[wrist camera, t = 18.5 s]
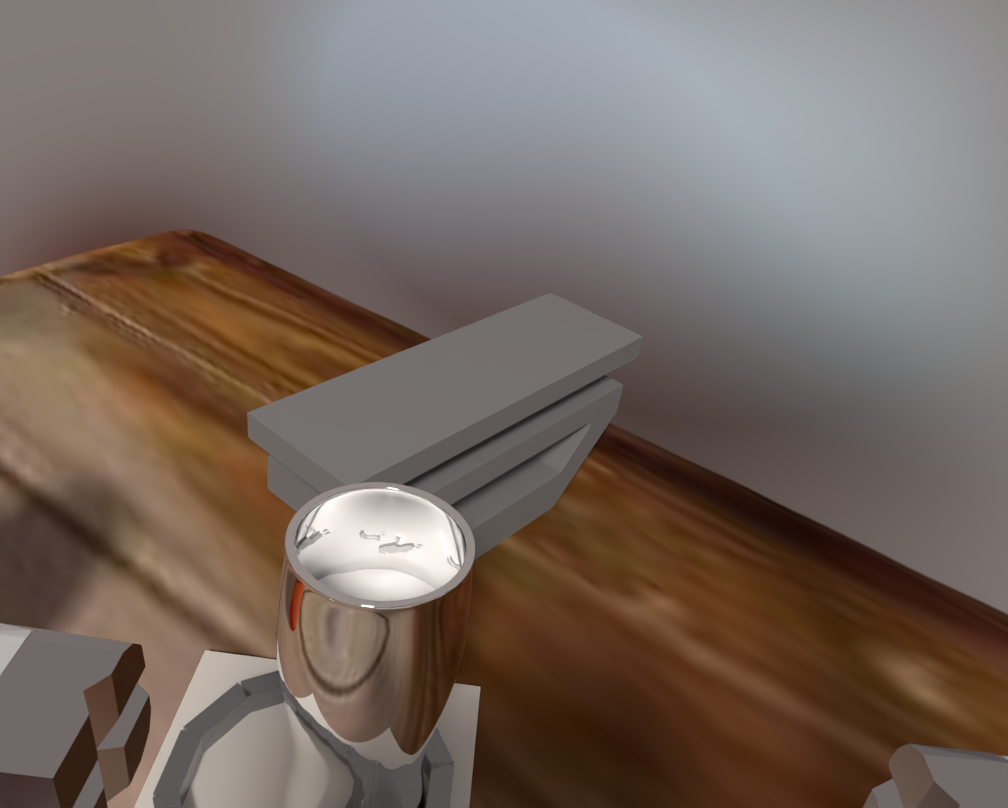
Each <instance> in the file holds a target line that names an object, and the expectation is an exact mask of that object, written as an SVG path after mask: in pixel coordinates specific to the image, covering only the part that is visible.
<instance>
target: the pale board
mask: <svg viewBox="0 0 1008 808" xmlns="http://www.w3.org/2000/svg"><path fill="white" fill-rule="evenodd" d="M274 671H278V664H277V660H275V659H267V658H260V657H252V656H245V655H237V654H229V653H222V652H214V651H207V650H205V652H204V654H203V656H202V658H201V661H200V663H199V665H198V667H197V669H196V672H195V674H194V676H193V678H192V681H191V683H190V685H189V687H188V689H187V692H186V694H185V696H184V698H183V701H182V703H181V705H180V707H179V709H178V712H177V714H176V716H175V718H174V720H173V723H172V725H171V727H170V729H169V732H168V734H167V736H166V738H165V740H164V743H163V745H162V747H161V749H160V751H159V754H158V756H157V758H156V760H155V763H154V765H153V767H152V769H151V771H150V774H149V776H148V778H147V780H146V783H145V785H144V787H143V789H142V791H141V794H140V796H139V798H138V800H137V802H136V805H135V807H134V808H154V805H153V798H152V797H153V793H154V790H155V788H156V786H157V783H158V781H159V779H160V777H161V774H162V772H163V770H164V767H165V765H166V763H167V761H168V758H169V756H170V754H171V751H172V749H173V747H174V745H175V742H176V740H177V738H178V735H179V733H180V731H181V730H184V729H183V727H184V726H185V725H186V724H187V723H189V722H190V721H191V720H192V719H193V718H195V717H196V716H197V715H198V714H200V713H201V712H202V711H203V710H204V709H206V708H207V707H208V706H209V705H211V704H212V703H213V702H214V701H215V700H217V699H218V698H219V697H220V696H222V695H223V694H224V693H225V692H226V691H228V690H229V689H230V688H231V687H233V686H234V685H235V684H236V683H238V684H240V685H241V681H242V680H246V679H249V678H253V677H256V676H260V675H263V674H267V673H271V672H274ZM479 698H480V686H472V685H465V684H457V683H455V684H454V686H453V689H452V692H451V695H450V697H449V700H448V702H447V704H446V707H445V709H444V711H443V713H442V716H441V718H440V720H439V722H438V725H437V728H438V730H439V732H440V735H441V737H442V739H443V741H444V743H445V745H446V747H447V749H448V751H449V753H450V755H451V757H452V759H453V761H454V764H453V765H454V773H453V782H452V791H451V800H450V808H469V805H470V794H471V784H472V773H473V762H474V752H475V741H476V730H477V719H478V709H479ZM294 756H295V748H294V742H293V736H292V732H291V728H290V724H289V720H288V716H287V712H286V707H285V703H281V704H278V705H275V706H271V707H268V708H265V709H261V710H258V711H255V712H251V713H249V714H248V715H247V716H246V717H245V718H244V719H242V720H241V721H240V722H239V723H238V724H237V725H236V726H234V727H233V728H232V729H231V730H230V731H229V732H227V733H226V734H225V735H224V736H223V737H222V738H220V739H219V740H218V741H217V742H216V743H215V744H214V745H212V746H211V747H210V748H209V749H208V750H207V751H205V752H204V753H203V756H202V758H201V761H200V763H199V766H198V768H197V771H196V773H195V776H194V778H193V781H192V783H191V786H190V788H189V791H188V793H187V796H186V798H185V801H184V803H183V806H182V808H283V797H284V791H285V787H286V783H287V780H288V777H289V774H290V771H291V768H292V765H293V762H294ZM423 776H424V784H425V808H426V803H427V796H428V789H429V780H428V778H427V776H426V774H425V771H424V769H423Z"/></svg>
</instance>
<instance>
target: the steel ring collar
mask: <svg viewBox="0 0 1008 808" xmlns="http://www.w3.org/2000/svg"><path fill="white" fill-rule="evenodd" d="M281 703H284V699H283V694H282V690H281V684H280V677H279V671H274V672H271V673H267V674H263V675H260V676H256V677H253V678H249V679H246V680H242V681H241V685H240V684H238V683H236V684H235V685H234V686H233V687H231V688H230V689H229V690H228V691H226V692H225V693H224V694H223V695H222V696H220V697H219V698H218V699H217V700H215V701H214V702H213V703H212V704H211V705H209V706H208V707H207V708H206V709H204V710H203V711H202V712H201V713H200V714H198V715H197V716H196V717H195V718H193V719H192V720H191V721H190V722H189V723H187V724H186V725H185V726H184V727H183V729H184V730H181V731H180V733H179V735H178V738H177V740H176V742H175V745H174V747H173V749H172V751H171V754H170V756H169V758H168V761H167V763H166V765H165V767H164V770H163V772H162V774H161V777H160V779H159V781H158V783H157V786H156V788H155V790H154V793H153V797H152V798H153V805H154V808H182V806H183V803H184V801H185V798H186V796H187V793H188V791H189V788H190V786H191V783H192V781H193V778H194V776H195V773H196V771H197V768H198V766H199V763H200V761H201V758H202V756H203V753H204V752H205V751H207V750H208V749H209V748H210V747H211V746H212V745H214V744H215V743H216V742H217V741H218V740H219V739H220V738H222V737H223V736H224V735H225V734H226V733H227V732H229V731H230V730H231V729H232V728H233V727H234V726H236V725H237V724H238V723H239V722H240V721H241V720H242V719H244V718H245V717H246V716H247V715H248V714H249V713H251V712H255V711H258V710H261V709H265V708H268V707H271V706H275V705H278V704H281ZM453 764H454V761H453V759H452V757H451V755H450V753H449V751H448V749H447V747H446V745H445V743H444V741H443V739H442V737H441V735H440V732H439V730H438V728H437V727H436V729H435V731H434V733H433V735H432V737H431V740H430V742H429V744H428V747H427V749H426V752H425V755H424V759H423V769H424V771H425V774H426V776H427V778H428V780H429V789H428V796H427V803H426V808H450V800H451V791H452V782H453V773H454V765H453Z"/></svg>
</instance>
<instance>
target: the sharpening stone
mask: <svg viewBox="0 0 1008 808" xmlns="http://www.w3.org/2000/svg"><path fill="white" fill-rule="evenodd" d="M642 339H643V336H641V335H639V334H637V333H635V332H632V331H630V330H628V329H626V328H624V327H622V326H620V325H618V324H616V323H613V322H612V321H609V320H607V319H605V318H603V317H601V316H599V315H597V314H595V313H593V312H591V311H588V310H586V309H584V308H582V307H580V306H578V305H576V304H574V303H572V302H570V301H568V300H565V299H563V298H561V297H559V296H557V295H555V294H553V293H548V294H546V295H543V296H541V297H538V298H536V299H533V300H531V301H528V302H526V303H523V304H521V305H518V306H516V307H513V308H511V309H508V310H506V311H503V312H500V313H498V314H495V315H493V316H490V317H488V318H485V319H483V320H480V321H478V322H475V323H473V324H470V325H467V326H465V327H462V328H460V329H457V330H455V331H453V332H450V333H448V334H445V335H442V336H440V337H437V338H435V339H432V340H430V341H427V342H425V343H422V344H419V345H417V346H414V347H412V348H409V349H407V350H404V351H402V352H399V353H397V354H394V355H392V356H389V357H387V358H384V359H382V360H379V361H377V362H374V363H372V364H369V365H366V366H364V367H361V368H359V369H356V370H354V371H351V372H349V373H346V374H344V375H341V376H339V377H336V378H334V379H331V380H329V381H326V382H324V383H321V384H318V385H316V386H313V387H311V388H308V389H306V390H303V391H301V392H298V393H296V394H293V395H291V396H288V397H286V398H283V399H281V400H278V401H276V402H273V403H270V404H268V405H265V406H263V407H260V408H258V409H255V410H253V411H250V412H248V413H247V415H248V438H250V439H251V440H252V441H254V442H255V443H256V444H257V445H259V446H260V447H261V448H263V449H264V450H265V451H267V452H268V453H269V454H271V456H268V457H267V479H268V489H269V490H270V491H271V492H272V493H274V494H275V495H276V496H278V497H279V498H280V499H281V500H283V501H284V502H285V503H286V504H288V505H289V506H290V507H291V508H293V509H294V510H295V511H296V512H297V511H298V510H299V509H300V508H301V507H302V506H303V505H304V504H306V503H307V502H308V501H310V500H311V499H313V498H314V497H316V496H318V495H320V494H322V493H324V492H326V491H328V490H331V489H334V488H337V487H341V486H345V485H349V484H355V483H365V482H386V483H395V484H401V485H406V486H410V487H414V488H417V489H420V490H423V491H426V492H428V493H430V494H433V495H435V496H437V497H438V498H440V499H442V500H444V501H445V502H447V503H448V504H449V505H451V506H452V507H453V508H454V509H456V510H457V511H458V512H459V513H460V514H461V515H462V517H463V518H464V519H465V520H466V522H467V523H468V525H469V527H470V528H471V531H472V533H473V536H474V539H475V546H476V553H475V559H477V558H478V557H480V556H481V555H483V554H484V553H486V552H487V551H489V550H490V549H492V548H493V547H495V546H496V545H498V544H499V543H501V542H502V541H503V540H505V539H506V538H508V537H509V536H511V535H512V534H514V533H515V532H517V531H518V530H520V529H521V528H523V527H524V526H526V525H527V524H529V523H530V522H532V521H533V520H534V519H536V518H537V517H539V516H540V515H542V514H543V513H545V512H546V511H548V510H549V509H551V508H552V507H554V505H555V504H556V502H557V501H558V499H559V498H560V496H561V495H562V493H563V492H564V490H565V489H566V487H567V486H568V484H569V483H570V481H571V480H572V478H573V477H574V475H575V474H576V472H577V471H578V469H579V468H580V466H581V465H582V463H583V462H584V460H585V459H586V457H587V456H588V454H589V453H590V451H591V450H592V448H593V447H594V445H595V444H596V442H597V440H598V439H599V437H600V436H601V434H602V433H603V431H604V430H605V428H606V427H607V425H608V424H609V422H610V421H611V419H612V418H613V416H614V415H615V413H616V412H617V409H618V405H619V400H620V396H621V392H622V388H623V384H621V383H619V382H617V381H615V380H613V379H612V378H610V377H608V376H606V375H605V374H607V373H609V372H611V371H613V370H615V369H616V368H618V367H620V366H622V365H624V364H625V363H627V362H629V361H631V360H633V359H635V358H637V357H638V355H639V351H640V347H641V343H642ZM475 559H474V560H475Z"/></svg>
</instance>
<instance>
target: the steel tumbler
mask: <svg viewBox="0 0 1008 808" xmlns="http://www.w3.org/2000/svg"><path fill="white" fill-rule="evenodd" d="M475 553H476V546H475V539H474V536H473V533H472V531H471V528H470V527H469V525H468V523H467V522H466V520H465V519H464V518H463V517H462V515H461V514H460V513H459V512H458V511H457V510H456V509H454V508H453V507H452V506H451V505H449V504H448V503H447V502H445V501H444V500H442V499H440V498H438V497H437V496H435V495H433V494H430V493H428V492H426V491H423V490H420V489H417V488H414V487H410V486H406V485H401V484H395V483H386V482H365V483H355V484H349V485H345V486H341V487H337V488H334V489H331V490H328V491H326V492H324V493H322V494H320V495H318V496H316V497H314V498H313V499H311V500H310V501H308V502H307V503H306V504H304V505H303V506H302V507H301V508H300V509H299V510H298V511H297V512H296V514H295V515H294V516H293V518H292V519H291V521H290V523H289V525H288V527H287V530H286V534H285V551H284V559H283V565H282V572H281V579H280V587H279V595H278V606H277V621H276V648H277V664H278V671H279V677H280V684H281V690H282V694H283V699H284V703H285V707H286V712H287V716H288V720H289V724H290V728H291V732H292V736H293V742H294V748H295V756H294V762H293V765H292V768H291V771H290V774H289V777H288V780H287V783H286V787H285V791H284V797H283V808H425V784H424V776H423V759H424V755H425V752H426V749H427V747H428V744H429V742H430V740H431V737H432V735H433V733H434V731H435V729H436V727H437V725H438V722H439V720H440V718H441V716H442V713H443V711H444V709H445V707H446V704H447V702H448V700H449V697H450V695H451V692H452V689H453V686H454V684H455V681H456V678H457V675H458V672H459V669H460V665H461V660H462V656H463V651H464V647H465V643H466V637H467V630H468V623H469V616H470V605H471V593H472V576H473V563H474V559H475Z"/></svg>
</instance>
